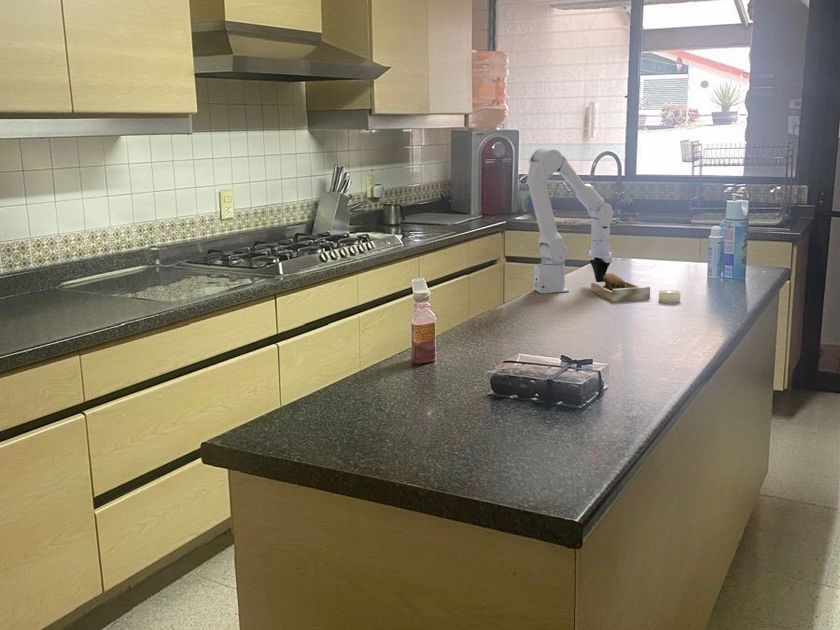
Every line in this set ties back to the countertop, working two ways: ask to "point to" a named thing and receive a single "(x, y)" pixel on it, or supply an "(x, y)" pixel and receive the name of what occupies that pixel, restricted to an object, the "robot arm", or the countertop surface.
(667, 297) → the soap bar
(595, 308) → the countertop surface
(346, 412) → the countertop surface
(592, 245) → the robot arm
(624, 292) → the guide fence
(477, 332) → the countertop surface
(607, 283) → the mushroom
